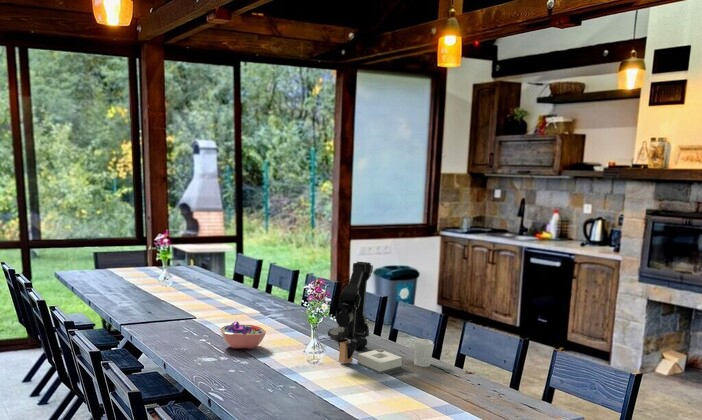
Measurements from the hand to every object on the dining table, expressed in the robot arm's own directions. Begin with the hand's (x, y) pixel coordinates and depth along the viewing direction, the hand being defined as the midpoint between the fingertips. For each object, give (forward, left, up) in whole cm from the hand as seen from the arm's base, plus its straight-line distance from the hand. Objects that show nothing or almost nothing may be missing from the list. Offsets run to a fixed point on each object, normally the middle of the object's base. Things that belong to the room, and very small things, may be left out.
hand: (345, 357), depth 228 cm
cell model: (-39, -26, -3) cm, 47 cm away
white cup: (+18, +28, -3) cm, 33 cm away
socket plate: (+10, +10, -3) cm, 14 cm away
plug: (0, 0, -2) cm, 2 cm away
